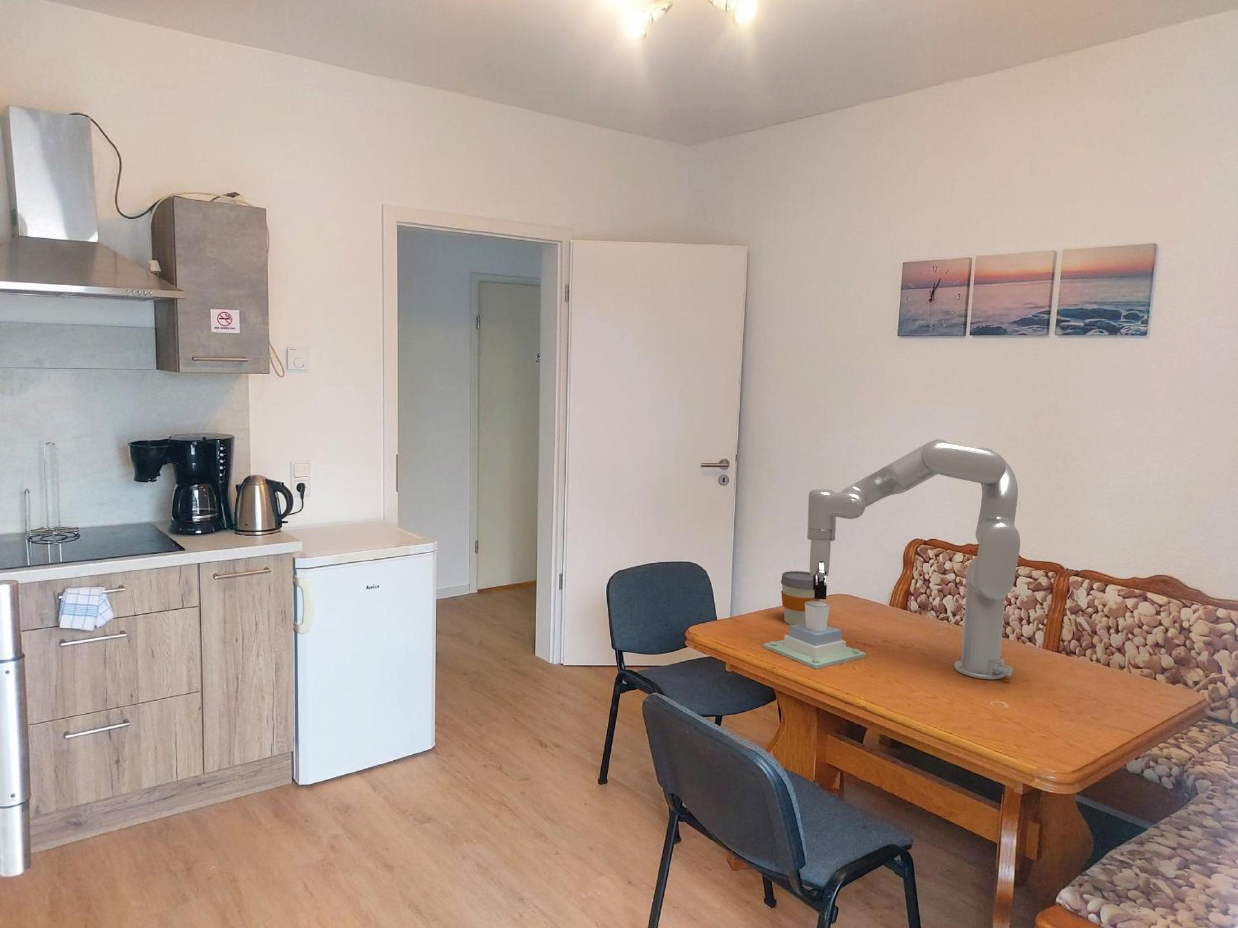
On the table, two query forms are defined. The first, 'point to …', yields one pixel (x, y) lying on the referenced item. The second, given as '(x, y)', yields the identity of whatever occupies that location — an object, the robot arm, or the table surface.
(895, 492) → the robot arm
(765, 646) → the stepped tiered stack
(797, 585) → the reusable coffee cup
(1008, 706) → the table surface
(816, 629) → the white tapered cup
